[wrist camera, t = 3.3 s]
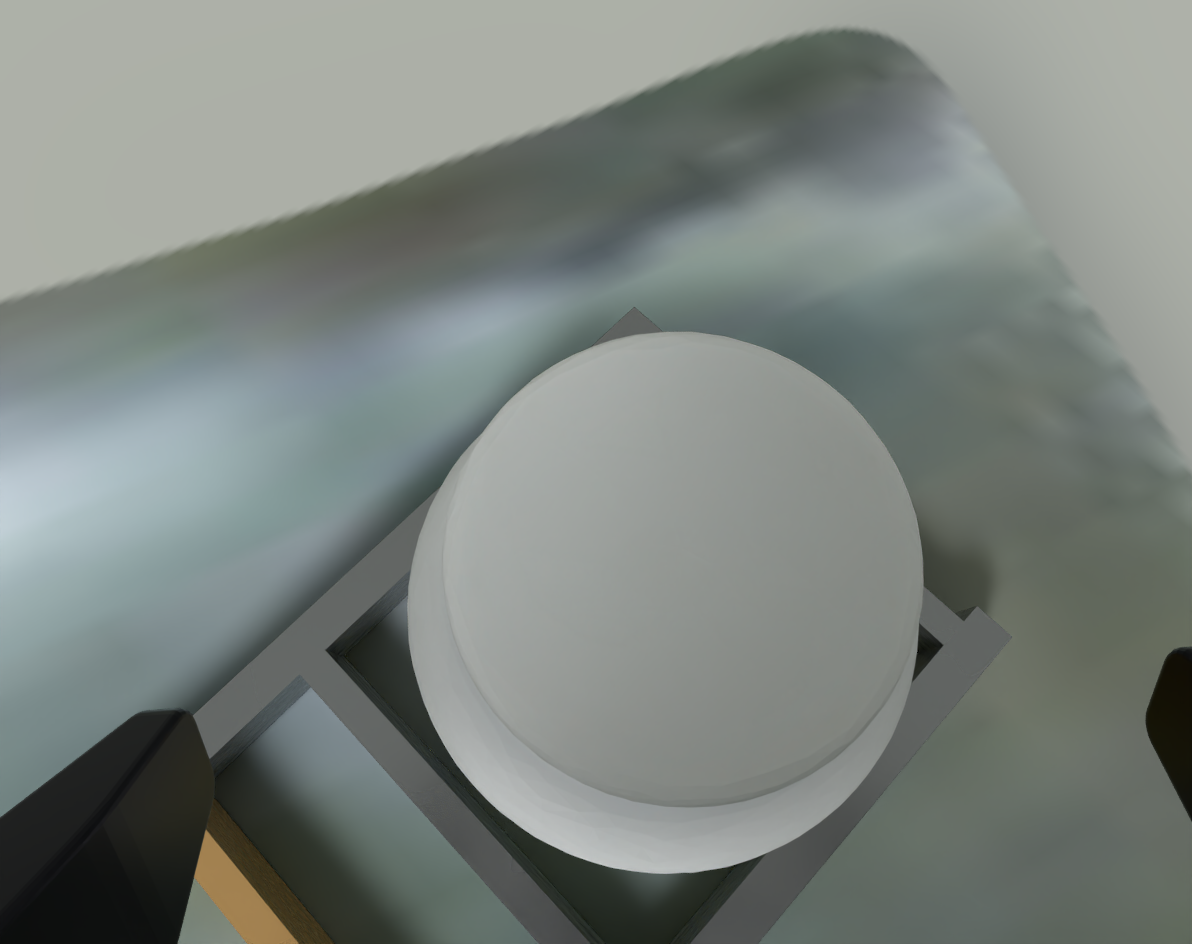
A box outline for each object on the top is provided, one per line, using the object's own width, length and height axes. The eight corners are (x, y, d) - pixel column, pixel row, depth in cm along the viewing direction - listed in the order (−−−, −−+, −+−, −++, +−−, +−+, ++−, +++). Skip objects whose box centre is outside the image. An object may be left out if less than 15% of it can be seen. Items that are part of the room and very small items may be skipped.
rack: (631, 332, 19) (634, 306, 17) (983, 643, 17) (1012, 636, 15) (-285, 1189, 14) (-365, 1231, 13) (49, 1759, 12) (-10, 1869, 11)
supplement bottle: (789, 541, 17) (1042, 293, 7) (759, 831, 16) (1033, 1005, 6) (520, 497, 17) (424, 205, 8) (464, 778, 16) (251, 857, 6)
